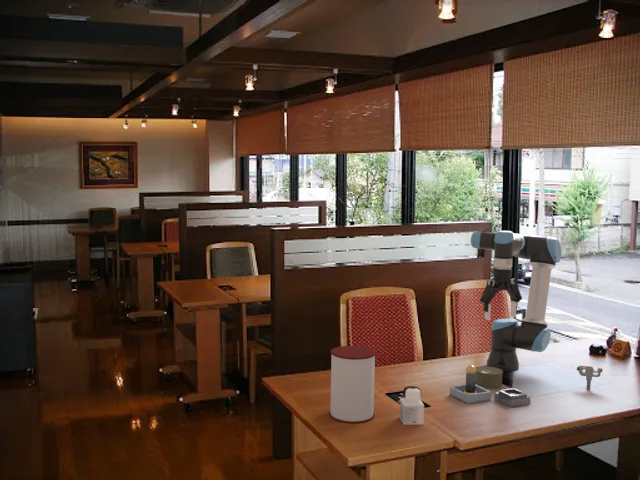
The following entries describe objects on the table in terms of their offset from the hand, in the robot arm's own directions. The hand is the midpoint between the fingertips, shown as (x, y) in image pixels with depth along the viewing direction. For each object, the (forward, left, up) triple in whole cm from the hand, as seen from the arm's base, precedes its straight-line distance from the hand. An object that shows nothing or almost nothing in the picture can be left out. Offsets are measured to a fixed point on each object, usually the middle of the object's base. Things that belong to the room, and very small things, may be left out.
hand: (500, 318), depth 287 cm
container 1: (-1, -69, -33) cm, 76 cm away
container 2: (+13, -51, -33) cm, 62 cm away
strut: (0, -14, -32) cm, 35 cm away
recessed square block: (+11, -1, -33) cm, 35 cm away
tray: (0, -14, -33) cm, 36 cm away
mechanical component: (+11, +41, -33) cm, 54 cm away
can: (-11, +4, -33) cm, 35 cm away
